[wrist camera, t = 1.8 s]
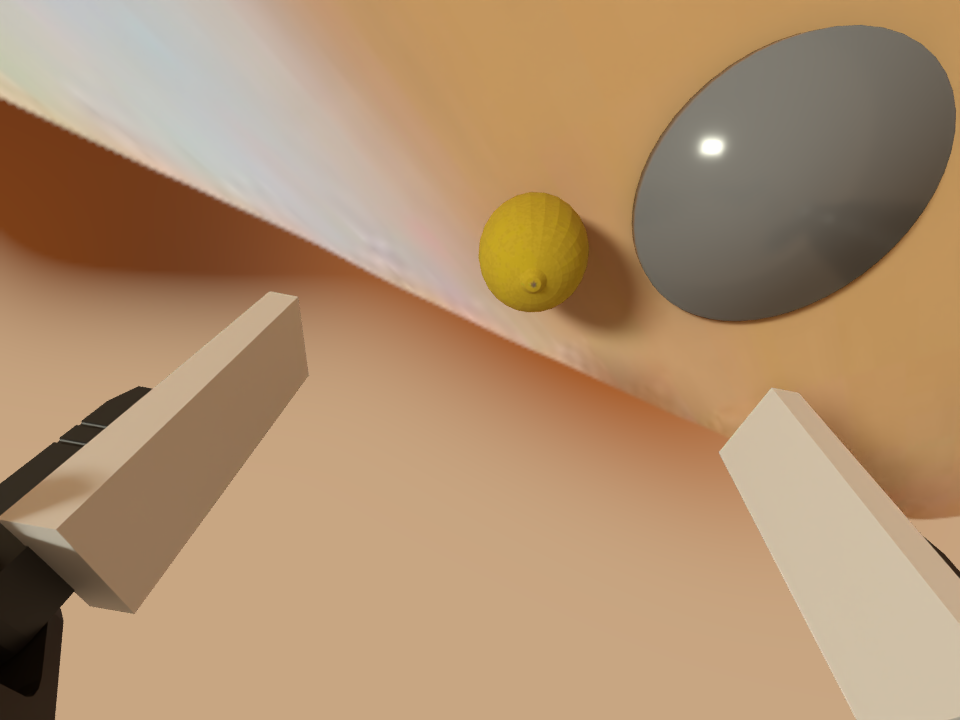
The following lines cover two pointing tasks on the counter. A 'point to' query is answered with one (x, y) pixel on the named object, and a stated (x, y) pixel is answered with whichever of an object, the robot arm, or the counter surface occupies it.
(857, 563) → the robot arm
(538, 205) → the lemon
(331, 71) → the counter surface
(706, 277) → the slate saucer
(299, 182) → the counter surface
